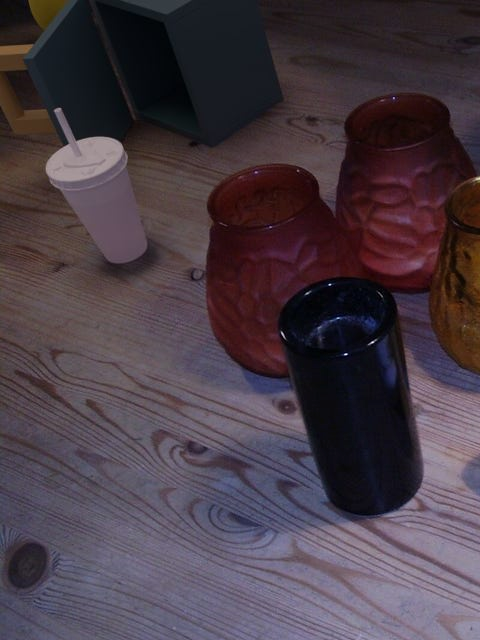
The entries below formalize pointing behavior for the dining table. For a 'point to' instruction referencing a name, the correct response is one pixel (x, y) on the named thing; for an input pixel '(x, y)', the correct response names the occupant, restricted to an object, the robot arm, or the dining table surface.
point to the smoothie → (99, 192)
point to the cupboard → (191, 63)
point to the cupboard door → (67, 80)
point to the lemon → (45, 10)
